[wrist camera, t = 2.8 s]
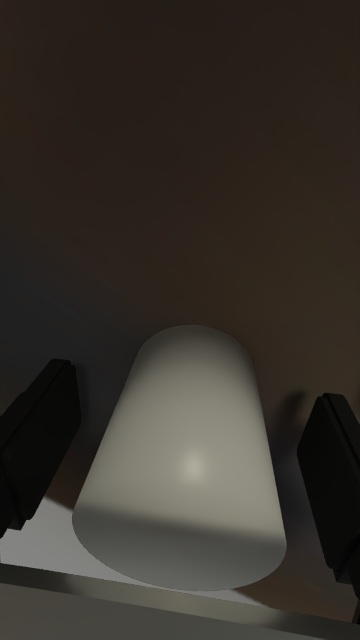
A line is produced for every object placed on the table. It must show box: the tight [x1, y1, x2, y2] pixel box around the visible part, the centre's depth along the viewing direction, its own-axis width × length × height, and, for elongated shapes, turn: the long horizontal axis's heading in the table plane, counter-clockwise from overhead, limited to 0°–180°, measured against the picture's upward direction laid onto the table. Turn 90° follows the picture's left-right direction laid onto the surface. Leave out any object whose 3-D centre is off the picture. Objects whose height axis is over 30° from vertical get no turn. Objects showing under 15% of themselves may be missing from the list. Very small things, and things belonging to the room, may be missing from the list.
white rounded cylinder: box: [72, 325, 287, 591], centre depth 10 cm, size 7×5×6 cm
